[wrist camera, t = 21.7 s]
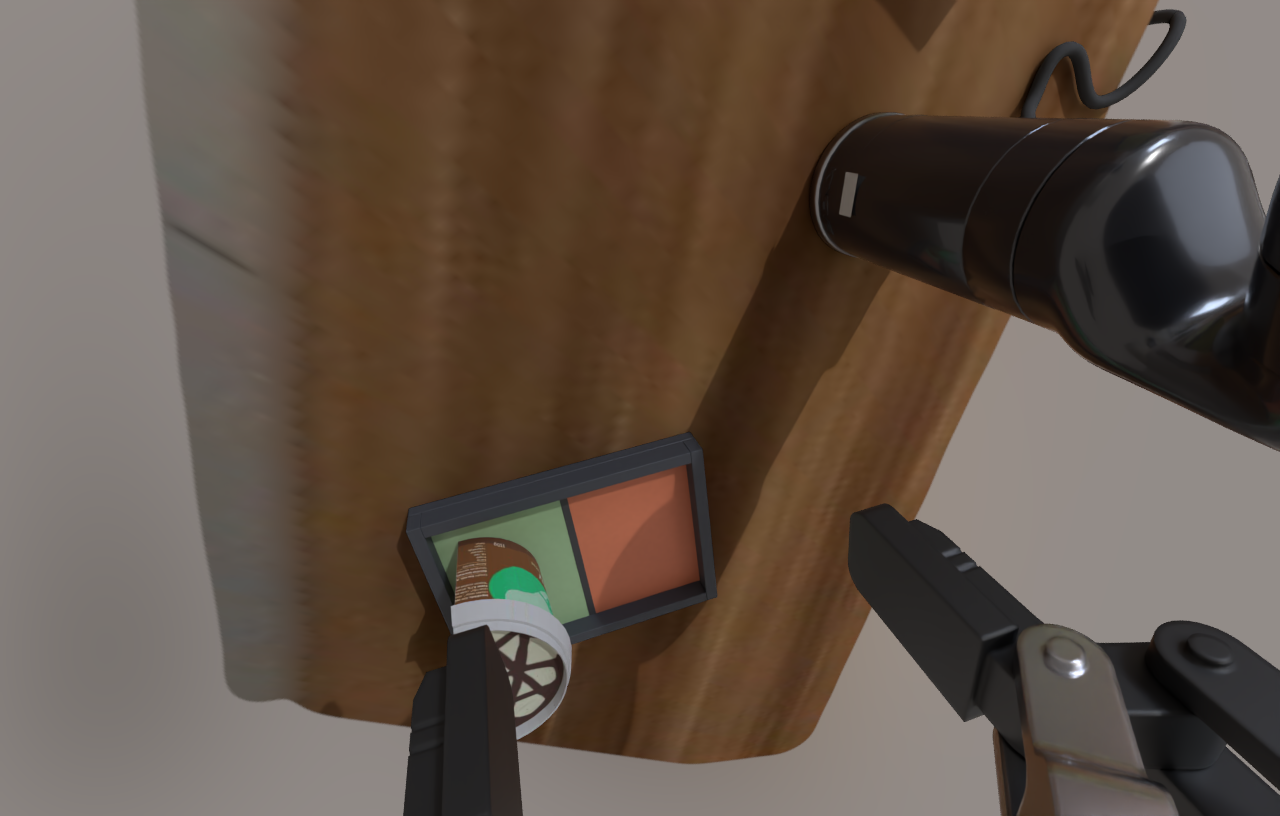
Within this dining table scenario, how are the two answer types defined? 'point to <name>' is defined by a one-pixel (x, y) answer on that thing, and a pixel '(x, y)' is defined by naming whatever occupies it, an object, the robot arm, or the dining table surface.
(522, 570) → the food container
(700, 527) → the sorting tray
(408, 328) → the dining table surface
